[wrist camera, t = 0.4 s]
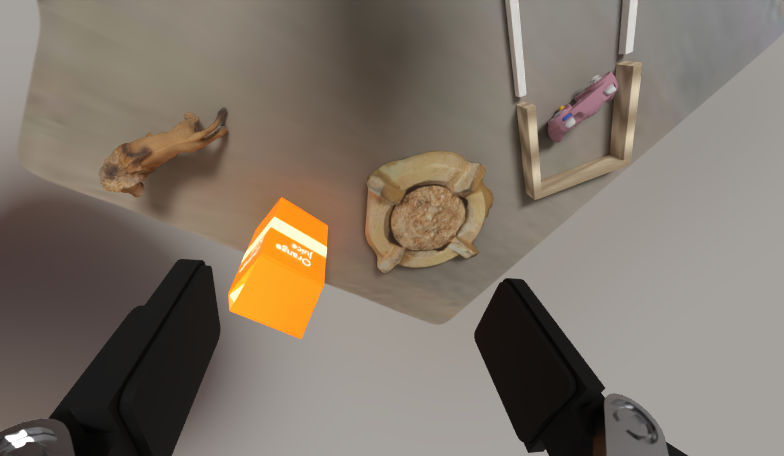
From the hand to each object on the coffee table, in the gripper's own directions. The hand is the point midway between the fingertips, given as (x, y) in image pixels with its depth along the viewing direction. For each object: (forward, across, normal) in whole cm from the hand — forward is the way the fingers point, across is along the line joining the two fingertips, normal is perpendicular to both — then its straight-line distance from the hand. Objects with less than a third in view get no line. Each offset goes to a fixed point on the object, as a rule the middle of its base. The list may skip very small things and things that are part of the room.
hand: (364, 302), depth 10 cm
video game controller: (+36, -33, -5) cm, 49 cm away
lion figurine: (+36, +21, +8) cm, 43 cm away
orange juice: (+36, +6, +21) cm, 42 cm away
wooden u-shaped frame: (+36, -35, -1) cm, 50 cm away
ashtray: (+37, -15, +16) cm, 43 cm away
